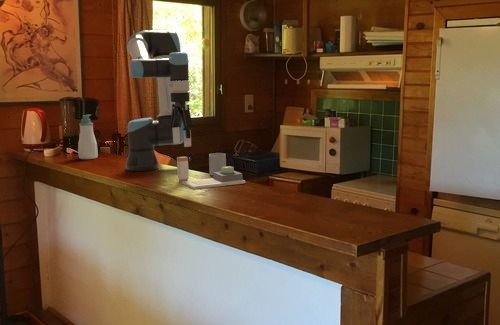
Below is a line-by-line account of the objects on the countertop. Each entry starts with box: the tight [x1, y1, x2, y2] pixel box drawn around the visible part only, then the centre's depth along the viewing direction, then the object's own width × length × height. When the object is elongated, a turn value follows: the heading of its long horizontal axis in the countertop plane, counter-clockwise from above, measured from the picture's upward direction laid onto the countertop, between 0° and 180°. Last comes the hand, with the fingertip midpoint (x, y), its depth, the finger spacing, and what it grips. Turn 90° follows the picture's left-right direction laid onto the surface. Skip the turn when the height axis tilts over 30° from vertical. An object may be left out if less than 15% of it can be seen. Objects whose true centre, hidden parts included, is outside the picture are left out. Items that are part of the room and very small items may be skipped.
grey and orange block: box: [176, 156, 190, 183], centre depth 231 cm, size 4×4×10 cm
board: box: [182, 170, 246, 190], centre depth 225 cm, size 12×22×4 cm, turn 116°
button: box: [221, 165, 235, 175], centre depth 228 cm, size 5×5×3 cm
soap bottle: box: [77, 114, 99, 160], centre depth 298 cm, size 10×10×23 cm
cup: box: [208, 152, 227, 177], centre depth 245 cm, size 7×10×9 cm
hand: (182, 144), depth 229 cm, fingers open, 13 cm apart
